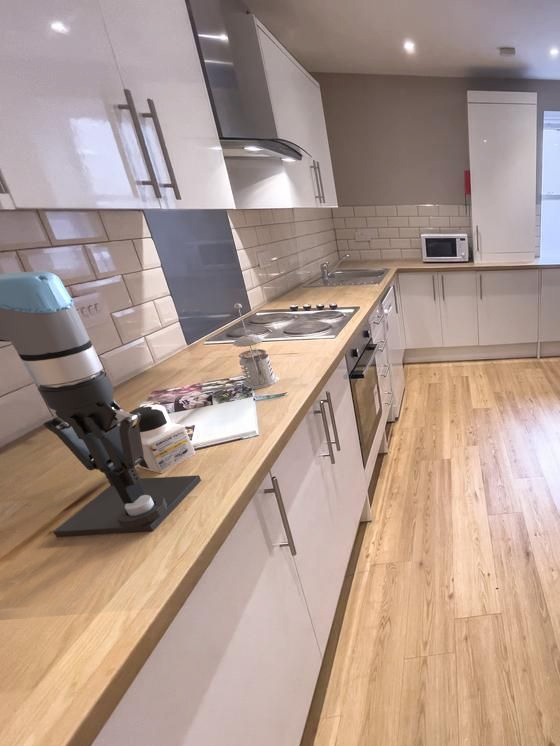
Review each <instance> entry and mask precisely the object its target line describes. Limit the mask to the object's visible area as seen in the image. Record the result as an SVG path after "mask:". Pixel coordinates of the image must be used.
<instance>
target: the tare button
mask: <svg viewBox="0 0 560 746" xmlns="http://www.w3.org/2000/svg"><path fill="white" fill-rule="evenodd" d="M153 507H154V502H153V500H152V498H151V497H150V496H149V495H143V496H140V497H139V498H138V499H137V500H136V501H135V502H134V503H130V504H126V505H125V509H126V510H127V512H128V514H129V515H130V516H137V515H140V514H144V513H145V512H147V511H149V510H151V509H152V508H153Z"/></svg>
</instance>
